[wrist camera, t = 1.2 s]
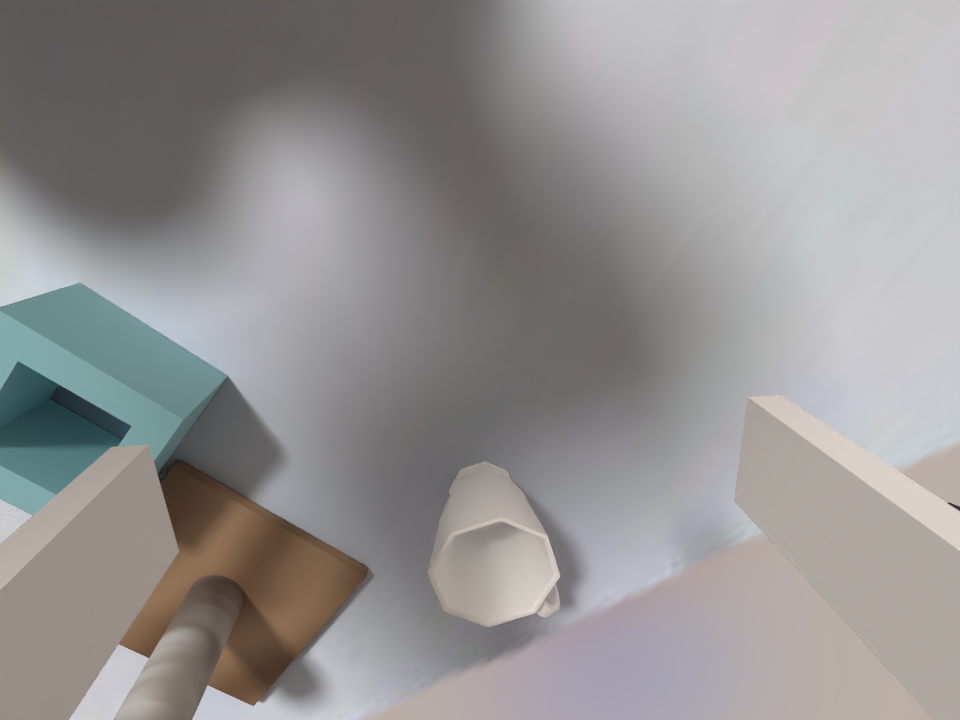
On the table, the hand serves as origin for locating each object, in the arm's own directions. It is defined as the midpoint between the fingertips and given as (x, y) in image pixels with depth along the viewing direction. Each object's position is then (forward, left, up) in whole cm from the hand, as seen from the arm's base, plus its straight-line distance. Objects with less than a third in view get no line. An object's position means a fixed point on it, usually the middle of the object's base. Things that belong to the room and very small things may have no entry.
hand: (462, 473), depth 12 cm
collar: (-11, -16, -20) cm, 29 cm away
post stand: (+1, -25, -20) cm, 33 cm away
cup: (+12, -9, -21) cm, 25 cm away
